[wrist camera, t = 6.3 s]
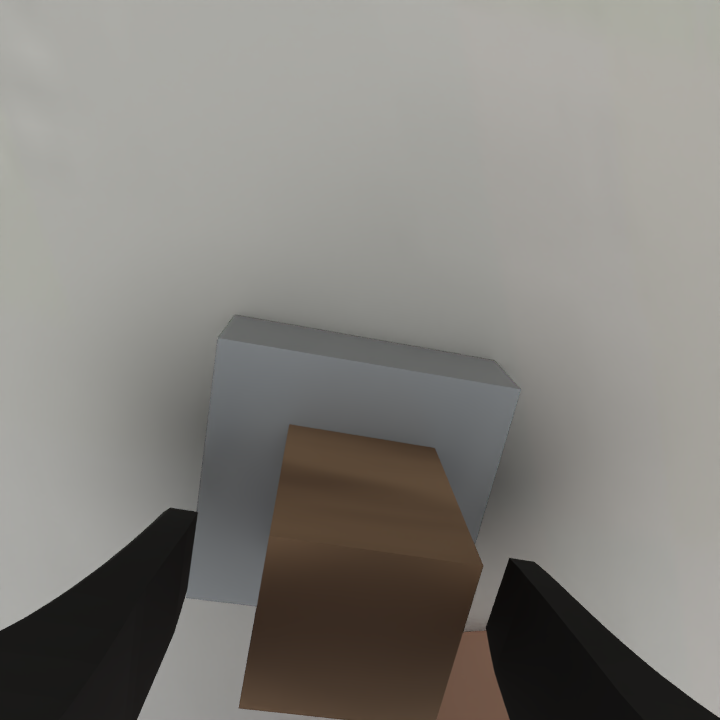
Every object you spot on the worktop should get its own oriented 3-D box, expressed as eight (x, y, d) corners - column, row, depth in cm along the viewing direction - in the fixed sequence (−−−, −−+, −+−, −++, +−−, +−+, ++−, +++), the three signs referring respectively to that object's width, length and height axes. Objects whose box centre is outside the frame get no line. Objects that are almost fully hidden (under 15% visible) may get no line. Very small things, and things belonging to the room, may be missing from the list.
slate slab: (432, 565, 20) (449, 629, 17) (207, 535, 19) (185, 598, 16) (490, 355, 18) (521, 389, 15) (237, 311, 17) (217, 338, 14)
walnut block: (403, 570, 16) (433, 729, 11) (266, 552, 16) (238, 708, 11) (434, 448, 15) (483, 565, 10) (289, 424, 15) (269, 535, 10)
